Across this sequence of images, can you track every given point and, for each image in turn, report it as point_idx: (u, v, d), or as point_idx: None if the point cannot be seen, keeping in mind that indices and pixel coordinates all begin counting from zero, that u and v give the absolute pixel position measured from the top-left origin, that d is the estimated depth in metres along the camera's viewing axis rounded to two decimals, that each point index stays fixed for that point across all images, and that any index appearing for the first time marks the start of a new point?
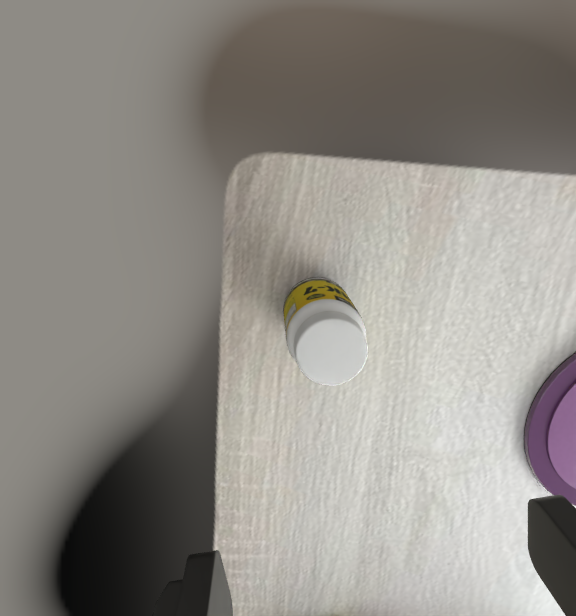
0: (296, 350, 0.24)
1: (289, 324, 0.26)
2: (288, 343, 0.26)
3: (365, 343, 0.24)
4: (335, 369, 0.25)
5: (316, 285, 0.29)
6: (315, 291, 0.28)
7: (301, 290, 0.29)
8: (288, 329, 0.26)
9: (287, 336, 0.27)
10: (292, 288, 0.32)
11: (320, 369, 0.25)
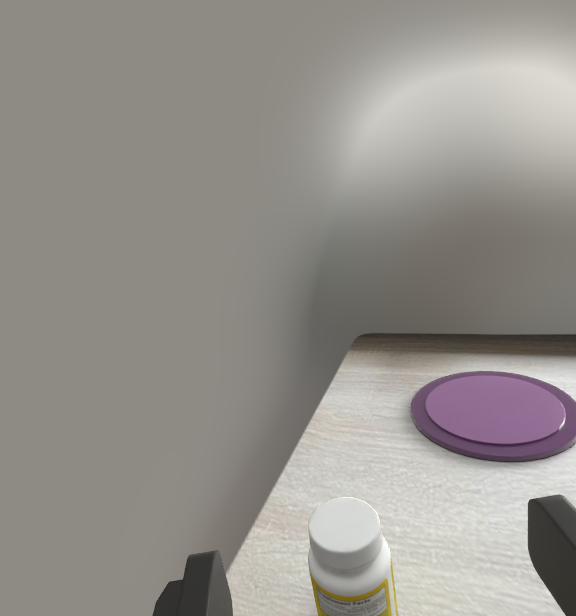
0: (334, 551, 0.23)
1: (326, 588, 0.24)
2: (345, 588, 0.24)
3: (339, 497, 0.27)
4: (361, 520, 0.25)
5: None
6: None
7: (318, 615, 0.26)
8: (330, 588, 0.24)
9: (338, 590, 0.24)
10: None
11: (359, 532, 0.24)
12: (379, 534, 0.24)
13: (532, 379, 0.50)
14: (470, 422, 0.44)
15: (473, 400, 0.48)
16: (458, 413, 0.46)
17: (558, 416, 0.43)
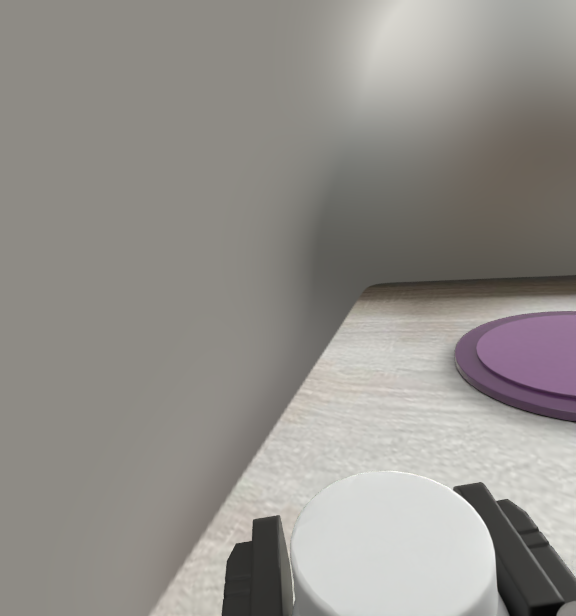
0: None
1: None
2: None
3: (370, 472, 0.11)
4: (437, 531, 0.09)
5: None
6: None
7: None
8: None
9: None
10: None
11: (436, 566, 0.08)
12: None
13: None
14: (554, 371, 0.28)
15: (549, 344, 0.32)
16: (531, 360, 0.30)
17: None
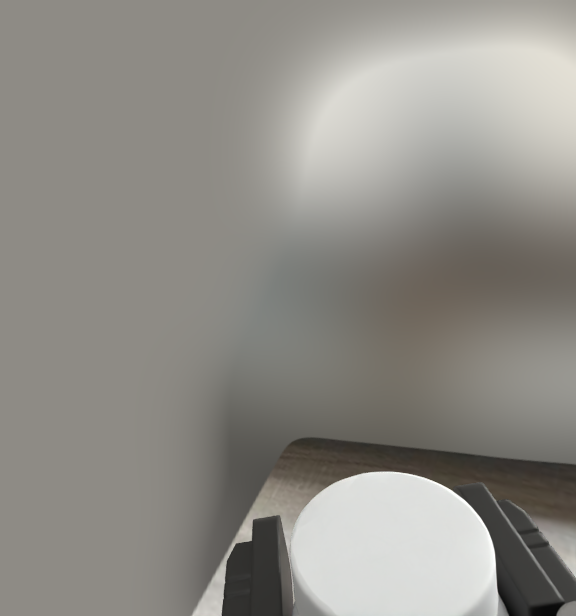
0: None
1: None
2: None
3: (370, 473, 0.11)
4: (437, 532, 0.09)
5: None
6: None
7: None
8: None
9: None
10: None
11: (436, 567, 0.08)
12: None
13: None
14: None
15: None
16: None
17: None
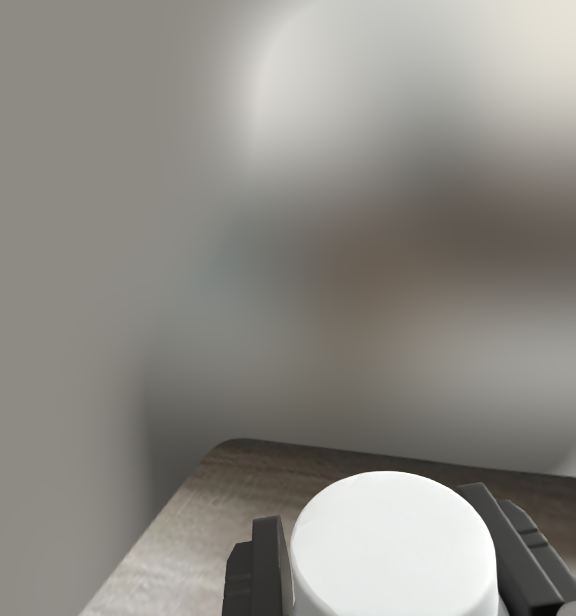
0: None
1: None
2: None
3: (370, 473, 0.11)
4: (437, 531, 0.09)
5: None
6: None
7: None
8: None
9: None
10: None
11: (437, 567, 0.08)
12: (496, 572, 0.08)
13: None
14: None
15: None
16: None
17: None
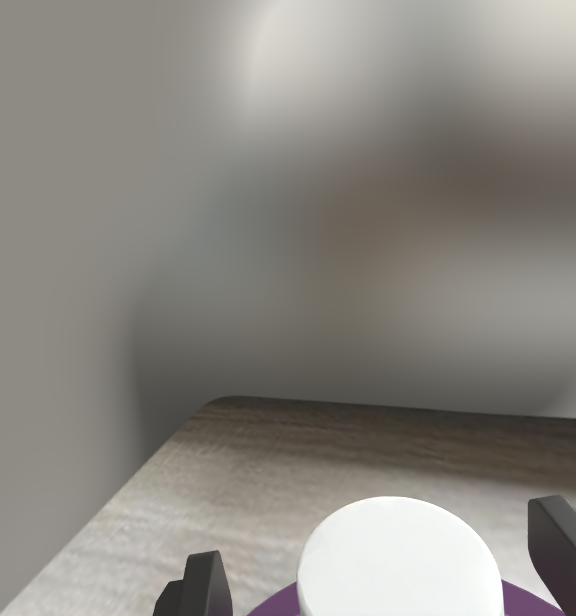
0: None
1: None
2: None
3: (376, 498, 0.11)
4: (443, 562, 0.09)
5: None
6: None
7: None
8: None
9: None
10: None
11: (444, 600, 0.08)
12: (503, 605, 0.08)
13: None
14: None
15: None
16: None
17: None
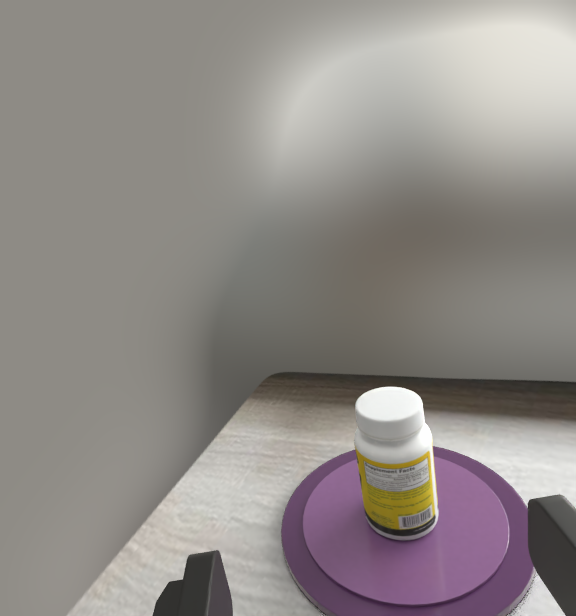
0: (382, 421, 0.26)
1: (374, 459, 0.26)
2: (392, 456, 0.26)
3: (382, 387, 0.29)
4: (404, 400, 0.27)
5: None
6: (358, 466, 0.29)
7: (363, 494, 0.29)
8: (378, 458, 0.26)
9: (386, 459, 0.26)
10: (373, 528, 0.29)
11: (403, 408, 0.26)
12: (422, 410, 0.26)
13: (471, 462, 0.34)
14: (359, 549, 0.28)
15: None
16: (346, 527, 0.29)
17: (497, 544, 0.26)
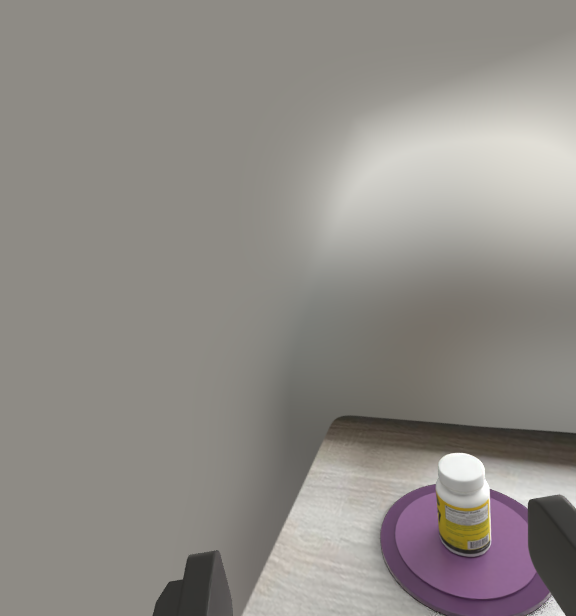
0: (460, 481, 0.40)
1: (453, 504, 0.40)
2: (466, 503, 0.40)
3: (453, 453, 0.43)
4: (472, 465, 0.41)
5: (438, 517, 0.44)
6: (437, 507, 0.43)
7: (441, 525, 0.43)
8: (456, 504, 0.40)
9: (461, 505, 0.40)
10: (448, 548, 0.43)
11: (472, 471, 0.40)
12: (484, 472, 0.41)
13: (508, 499, 0.48)
14: (440, 562, 0.42)
15: None
16: (428, 547, 0.44)
17: None
